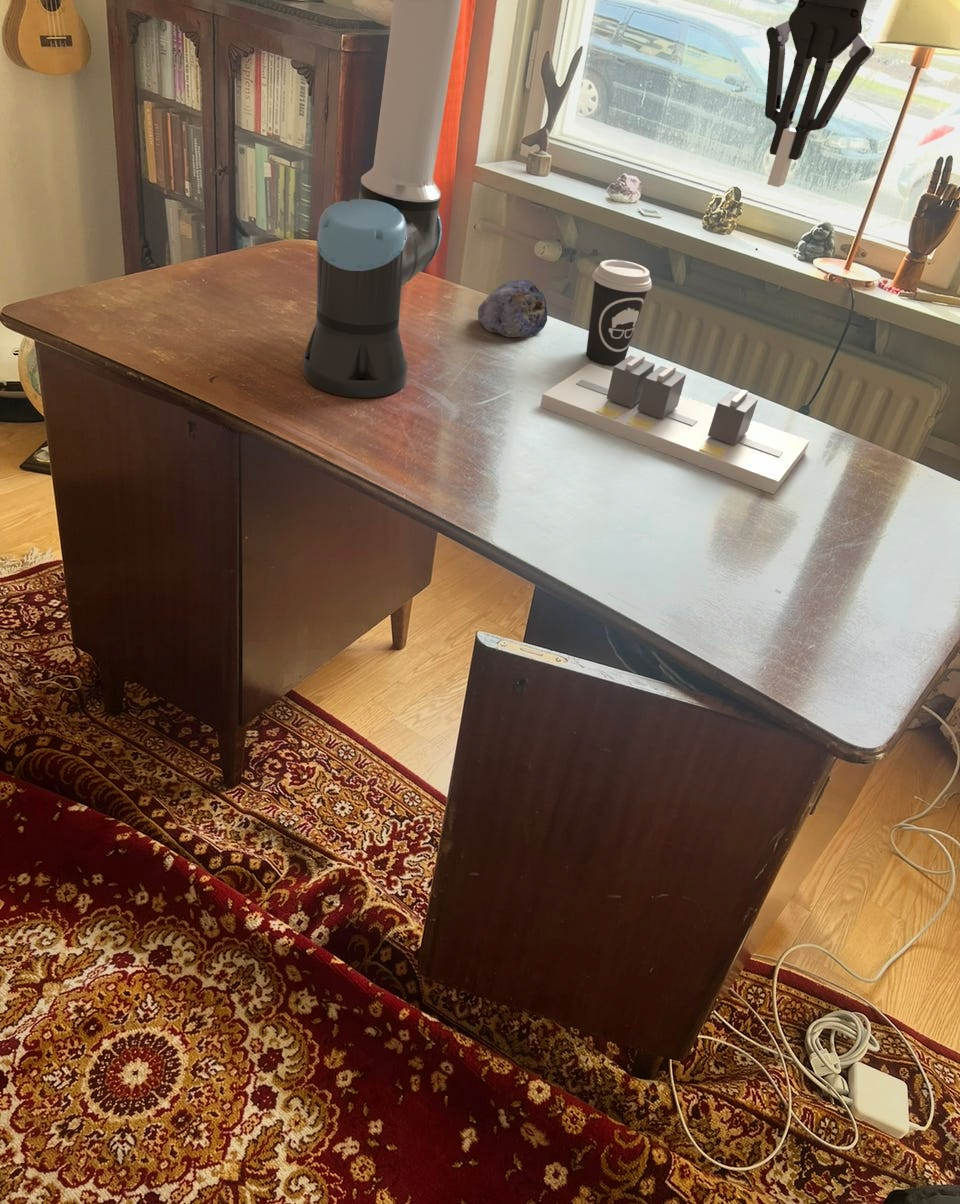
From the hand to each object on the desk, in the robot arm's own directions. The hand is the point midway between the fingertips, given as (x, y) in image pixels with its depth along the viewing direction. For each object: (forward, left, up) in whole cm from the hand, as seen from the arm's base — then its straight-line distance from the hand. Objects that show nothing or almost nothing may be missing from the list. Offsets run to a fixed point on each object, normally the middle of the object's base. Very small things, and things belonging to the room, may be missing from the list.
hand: (775, 184), depth 120 cm
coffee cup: (-21, +10, -34) cm, 41 cm away
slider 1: (-10, -7, -31) cm, 34 cm away
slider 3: (+5, -7, -31) cm, 33 cm away
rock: (-39, +8, -34) cm, 53 cm away
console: (-2, -7, -34) cm, 35 cm away
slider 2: (-5, -7, -31) cm, 33 cm away
